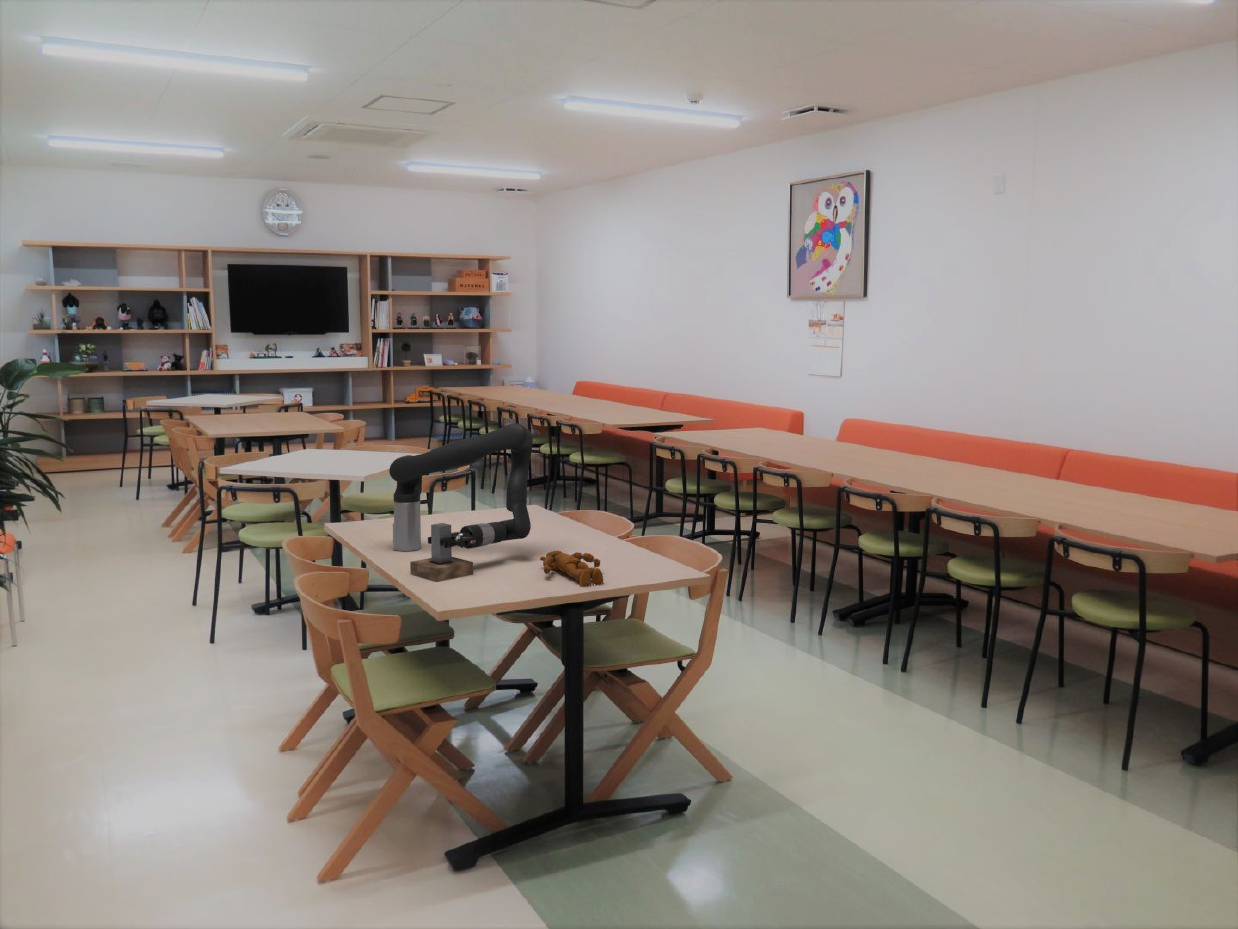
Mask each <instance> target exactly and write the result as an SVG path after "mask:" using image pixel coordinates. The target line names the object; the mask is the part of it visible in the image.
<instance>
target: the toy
mask: <svg viewBox="0 0 1238 929" xmlns="http://www.w3.org/2000/svg"><path fill="white" fill-rule="evenodd" d="M539 560H540V561H541V562H542V566H543V572H544V574H545V575H549V574H550V573H551V571H561V572H563V573H564V574H567V575H568V576H569V577H570V578H574V579H575V580H577V581H579V587H580V586H581V588H583V587H588V585H593V586H595V585H594V584H596V585H597V584H599V583H603V584H604V576H603V573H602V570H601V569H600V568H599V567H600V566H601V559H599V558H595V557H594V555H593V554H592V553H587V552H584V553H581V552H574V553H572V554H568V553H566V552H562V551H561V550H553V551H552V550H551V551H549V552H547V553H546V555H545V556H540V557H539ZM582 560H583V561H582ZM588 563H590V564H591V563H593V567H592V566H591V567H590V566H589V565H588ZM599 585H600V584H599ZM582 586H583V587H582Z"/></svg>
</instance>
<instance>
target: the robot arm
mask: <svg viewBox="0 0 1238 929" xmlns="http://www.w3.org/2000/svg"><path fill="white" fill-rule="evenodd" d="M533 443H534V437H533V433H532V432H531V431H530V429H528V428H527V427H526V426H524V425H523V424H520V423H517V422H516V423H510V424H507V425H505V426H501V427H499V428H497V429H495V430H492V431H490V432H487V433H484V434H479V435H475V436H474V435H473V436H470V437H467V438H464V439H463V438H462V439H459V440H456V441H452V442H449V443H446V444H444V445H441V446H439V447H437V448H433V449H431V450H429V451H426V452H424V453H420V454H416V455H411V454H410V455H409V454H406V455H403V456H399V457H397V458H396V459H394V460H393V461H392V462H391V464H390V466H389V468H388V469H389V471H388V473H389V475H390V478H391V479H393V481H395V482H396V487H395V490H394V492H393V523H392V550H393V551H398V552H399V551H400V552H413V551H417V550H418V551H419V550H420V549H422V526H421V524H422V522H421V520H422V518H421V495H422V489H423V476H426V475H429V474H434V473H440V472H441V473H442V472H446V471H451V470H455V469H459V468H463V467H468V466H471V465H473V464H475V463H477V462H479V461H481V460H482V459H484V458H485V457H487V456H489V455H491V454H494V453H497V452H501V451H507V450H510V455H511V467H510V472H509V477H508V479H507V484H506V490H505V491H506V494H505V495H506V496H505V498H506V500H505V501H506V502H505V507H506V510H507V511H508V512H511V513H512V517H513V518H510V519H505V520H501V521H494V522H485V523H484V522H483V523H482V522H481V523H475V524H474V523H473V524H469V525H464V526H462V527H461V528H460V530H459V531H453V532H452V531H451V540H447V541H444V548H449V547H452V548H454V547H455V548H462V549H463V548H465V549H467V550H469V549H475V548H481V547H486V546H488V545H492V544H497V543H501V542H504V541H505V542H506V541H513V540H523V539H526V538H527V537H528V536H529V534H530V532H531V529H532V524H531V518H530V515H529V509H528V507H527V504H528V478H529V477H528V474H529V466H530V459H531V455H532V454H531V453H532V450H533ZM427 544H429V545H431V536H428V537H427Z"/></svg>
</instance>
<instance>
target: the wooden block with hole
mask: <svg viewBox="0 0 1238 929" xmlns="http://www.w3.org/2000/svg"><path fill="white" fill-rule="evenodd" d="M409 563H410V566H409V567H410V568H409V569H410V571H409V572H410V575H411V576H415V577H419V578H422V579H426V580H429V581H433V582H436V583H437V582H442V581H448V580H451V579H452V580H453V579H456V578H461V577H462V578H463V577H467V576H471V575H474V562H473V561H470V560H467V559H463V558H459V557H456V556H452V563H448V564H443V565H437V564H433V563H432V557H430V558H424V559H423V558H422V559H419V560H412V561H410V562H409Z"/></svg>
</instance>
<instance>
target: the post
mask: <svg viewBox="0 0 1238 929" xmlns="http://www.w3.org/2000/svg"><path fill="white" fill-rule="evenodd" d="M430 532H431V533H430V537H431V544H430V545H431V546H430V547H431V558H432V563H433V564H437V565H443V564H448V563H452V557H453V555H452V554H453V553H452V550H453V549H452V548H453V547H449V548H444V541H447V540H451V532H452V524H449V523H446V522H445V523H444V522H440V523H434V524H430Z"/></svg>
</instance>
